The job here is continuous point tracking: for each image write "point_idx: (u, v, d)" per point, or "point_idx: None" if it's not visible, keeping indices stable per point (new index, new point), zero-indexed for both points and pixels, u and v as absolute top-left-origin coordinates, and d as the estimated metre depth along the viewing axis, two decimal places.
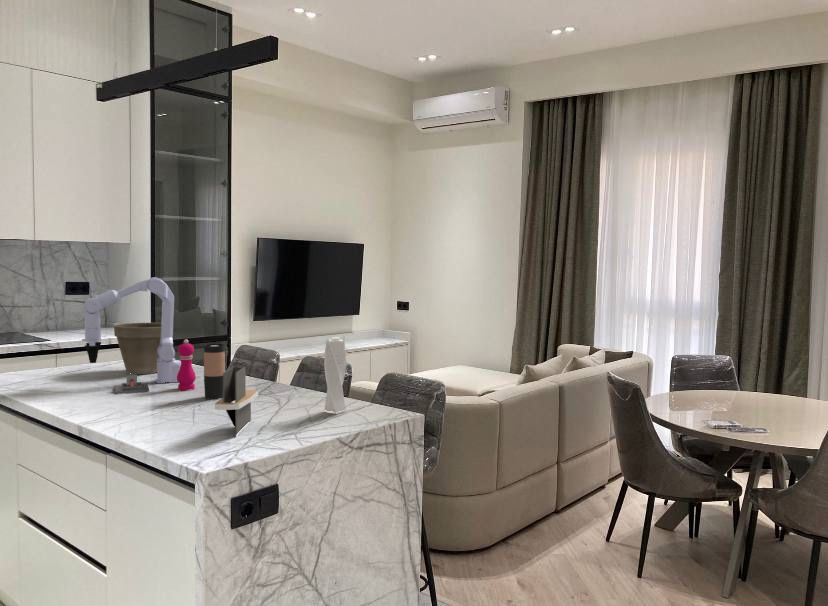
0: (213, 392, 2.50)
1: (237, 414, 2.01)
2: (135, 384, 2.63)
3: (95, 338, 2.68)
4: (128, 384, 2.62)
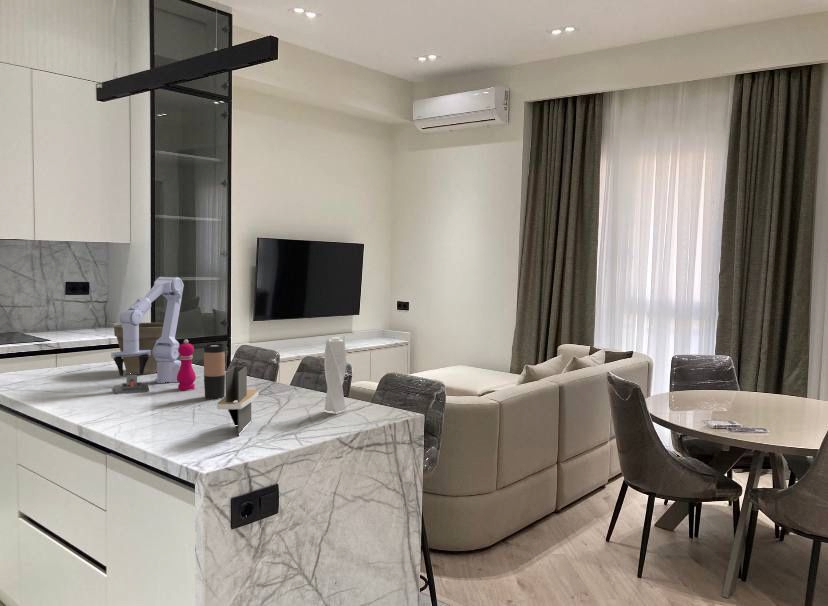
0: (213, 392, 2.50)
1: (239, 414, 2.01)
2: (135, 384, 2.63)
3: (125, 351, 2.61)
4: (128, 384, 2.62)
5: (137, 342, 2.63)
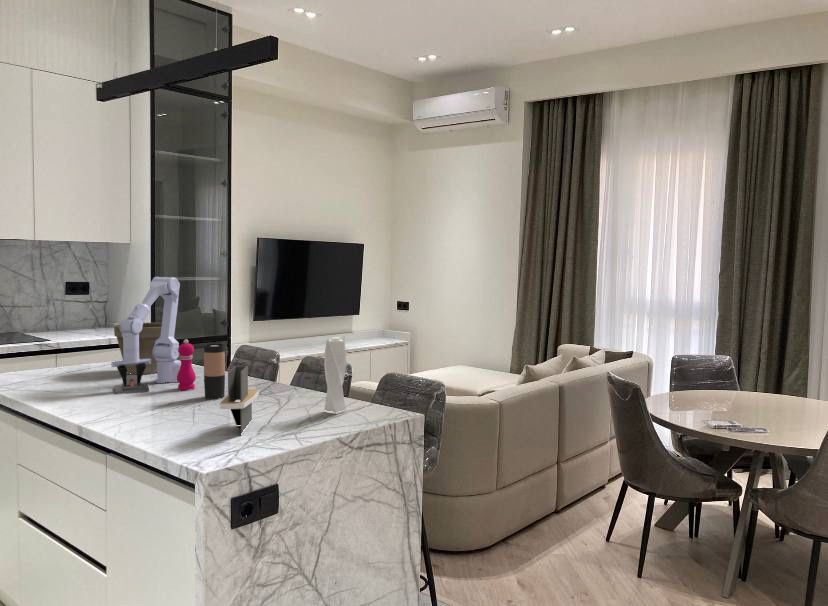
0: (213, 392, 2.50)
1: (242, 413, 2.02)
2: (135, 384, 2.63)
3: (125, 360, 2.61)
4: (128, 384, 2.62)
5: (137, 351, 2.63)
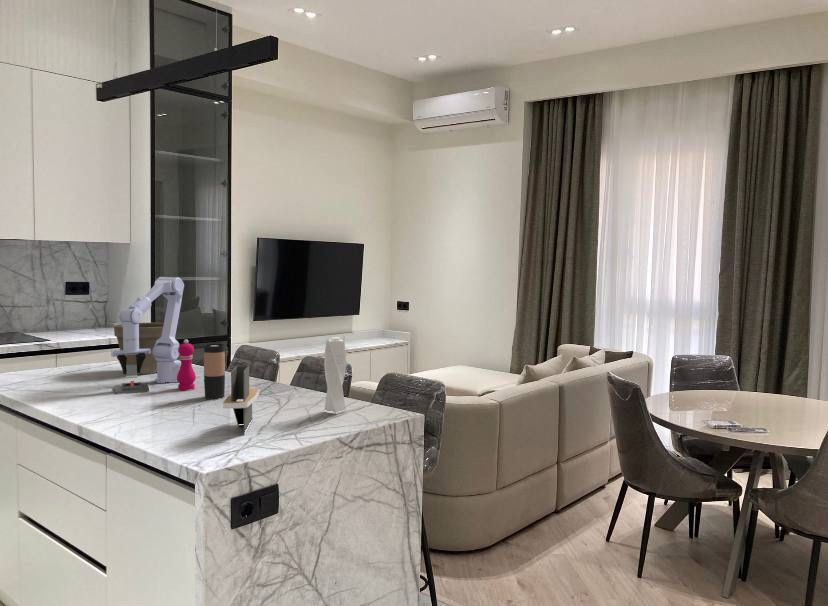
0: (213, 392, 2.50)
1: (245, 412, 2.03)
2: (135, 374, 2.63)
3: (125, 349, 2.61)
4: (128, 374, 2.62)
5: (137, 341, 2.63)
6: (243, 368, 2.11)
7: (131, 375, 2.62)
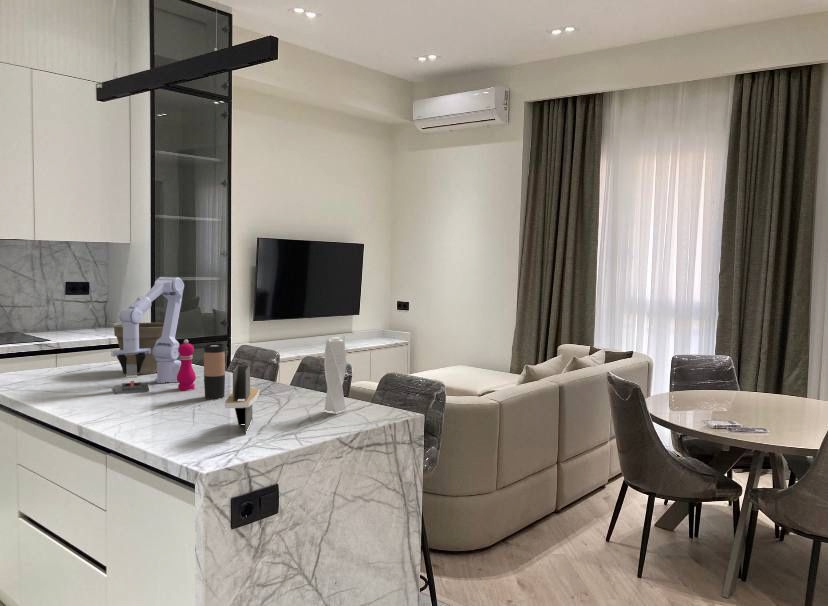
0: (213, 392, 2.50)
1: (246, 412, 2.04)
2: (135, 374, 2.63)
3: (125, 349, 2.61)
4: (128, 374, 2.62)
5: (137, 340, 2.63)
6: (244, 368, 2.11)
7: (131, 375, 2.62)
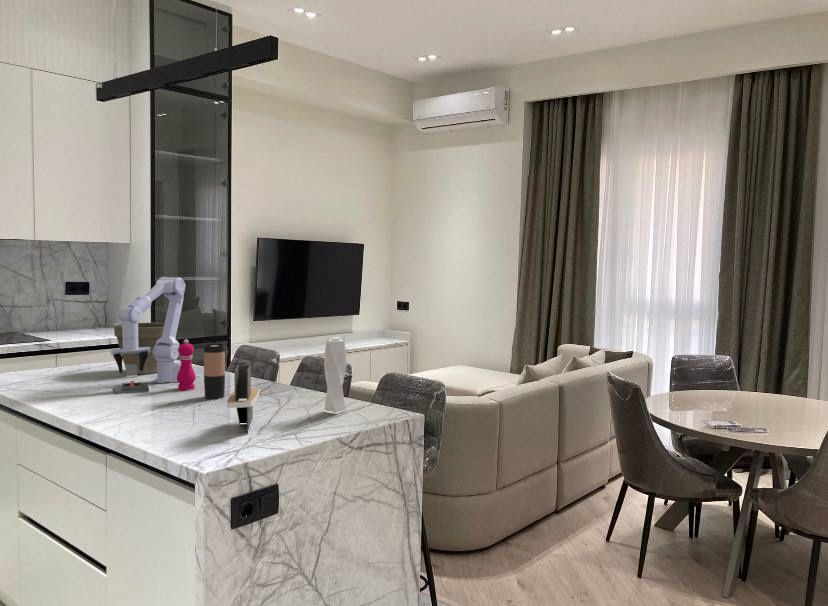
0: (213, 392, 2.50)
1: (248, 411, 2.04)
2: (135, 374, 2.63)
3: (124, 348, 2.62)
4: (128, 374, 2.62)
5: (136, 339, 2.63)
6: (245, 367, 2.12)
7: (131, 375, 2.62)
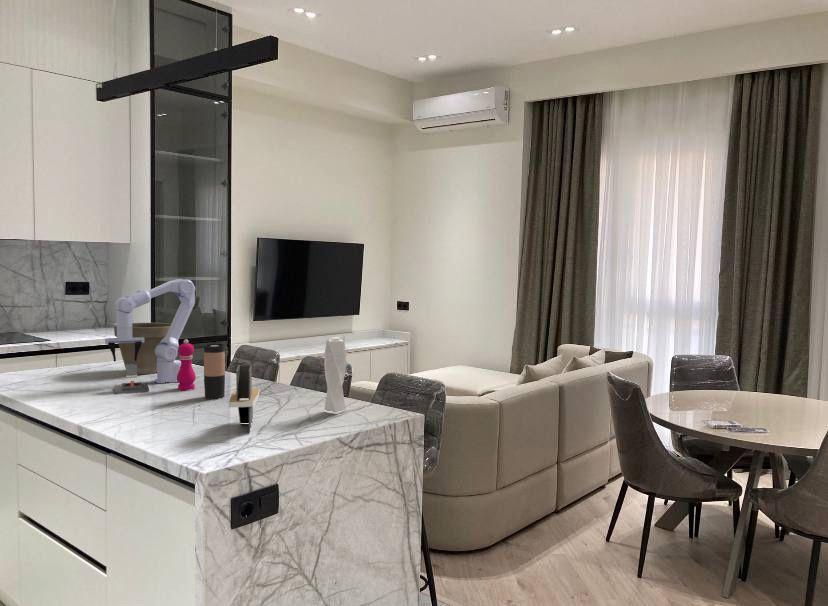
0: (213, 392, 2.50)
1: (250, 411, 2.05)
2: (135, 374, 2.63)
3: (117, 337, 2.69)
4: (128, 374, 2.62)
5: (129, 329, 2.69)
6: (245, 367, 2.12)
7: (131, 375, 2.62)
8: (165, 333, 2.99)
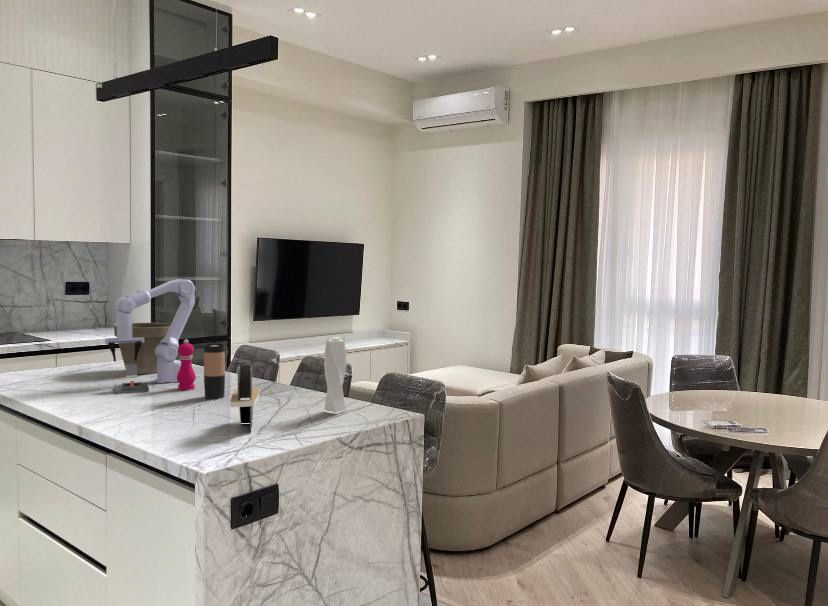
0: (213, 392, 2.50)
1: (251, 411, 2.05)
2: (135, 374, 2.63)
3: (117, 337, 2.69)
4: (128, 374, 2.62)
5: (129, 329, 2.69)
6: (246, 367, 2.13)
7: (131, 375, 2.62)
8: (165, 333, 2.99)
